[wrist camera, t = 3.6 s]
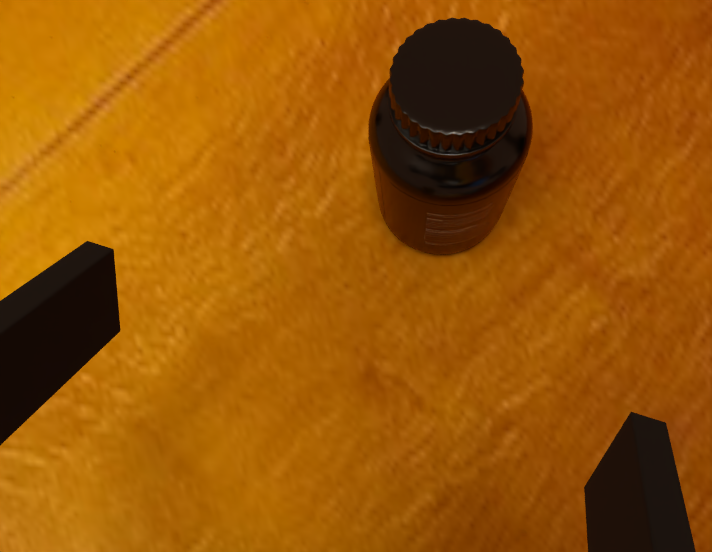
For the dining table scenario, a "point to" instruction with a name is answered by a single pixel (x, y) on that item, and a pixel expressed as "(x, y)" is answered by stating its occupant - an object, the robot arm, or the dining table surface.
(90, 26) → the dining table surface
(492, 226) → the supplement bottle
